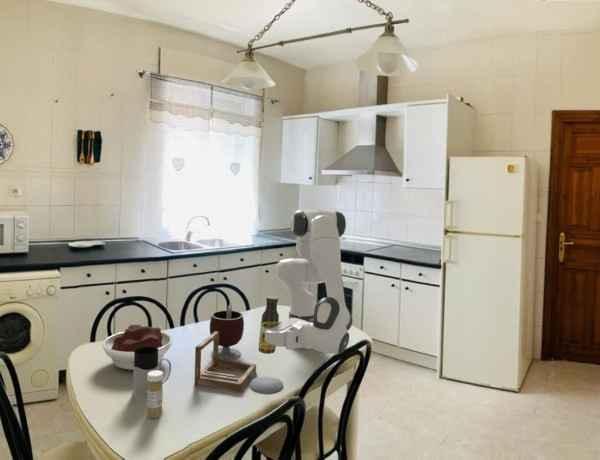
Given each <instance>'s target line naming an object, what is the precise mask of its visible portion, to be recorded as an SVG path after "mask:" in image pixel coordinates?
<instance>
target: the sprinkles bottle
mask: <svg viewBox="0 0 600 460" xmlns="http://www.w3.org/2000/svg"><path fill="white" fill-rule="evenodd" d="M163 379H164V372H163V371H162V370H160V369H159V370H155V371H151V372H149V373H148V374H147V380H148V389H147V401H146V405H147V410H146V411H147V413H146V416H147V417H148V418H151V419H155V418H156V419H157V418H160V417H161V416H162V414H163V411H162V410H163V408H162V407H163V384H162V383H163Z"/></svg>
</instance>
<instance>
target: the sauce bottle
mask: <svg viewBox="0 0 600 460" xmlns="http://www.w3.org/2000/svg"><path fill="white" fill-rule="evenodd" d="M278 302H279V298H278V297H277V296H274V295H268V296H266V307H265V310H264V311H263V313H262V314H261V315H262V316H261V322H260V328H261V327H263V326H264V327H267V328H268V329H271V328H273V327H275V326H277V325H278V324H279V321H280V314H279V312H278V309H277V308H278ZM276 349H277V346H276V345H272V344H269V343H267V342H266V341H265V333H262V332H260V331H259V337H258V351H259V352H260V353H262V354H264V355H270V354H271V355H272V354H274V353H275V351H276Z"/></svg>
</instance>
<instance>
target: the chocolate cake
mask: <svg viewBox="0 0 600 460" xmlns="http://www.w3.org/2000/svg"><path fill="white" fill-rule="evenodd" d="M172 344H173V339H172V337H171V336H170V335H169V333H165V332H164V331H162V329H161V328H160V327H158V326H157V327H151V326H147V325H145V326H142V325H141V324H130V325H129V326H128V328H125V330H124V331H122V332H118V333H115V334H112V335H110V336H108V337H107V338H106V339H104V341H103V343H102V350H103V351H104V353H105V355H106V356H107V357H108V358H110V359H111V361H112V363H113V365H114V366H115V367H117V368H120V369H123V370H127V371H128V370H131V371H132V370H133V371H134V351H135V350H136V349H138V348H141V347H155V348H157V349H158V364H159V362H160V360H161V359H163V358H164V356H165V355H166V353H167V352H168V351H169V350H170V348H171V347H172Z"/></svg>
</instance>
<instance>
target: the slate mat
mask: <svg viewBox="0 0 600 460" xmlns="http://www.w3.org/2000/svg"><path fill="white" fill-rule="evenodd" d="M248 384H249V388H250V389H251V390H252V391H254V392H256V393H261V394H274V393H278V392H280V391H281V390H282V389H283V387H284V383H283V382H282V380H280V379H278V378H276V377H273V376H259V377H258V376H257V377H256V378H253V379H250V380H249V383H248Z"/></svg>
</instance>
